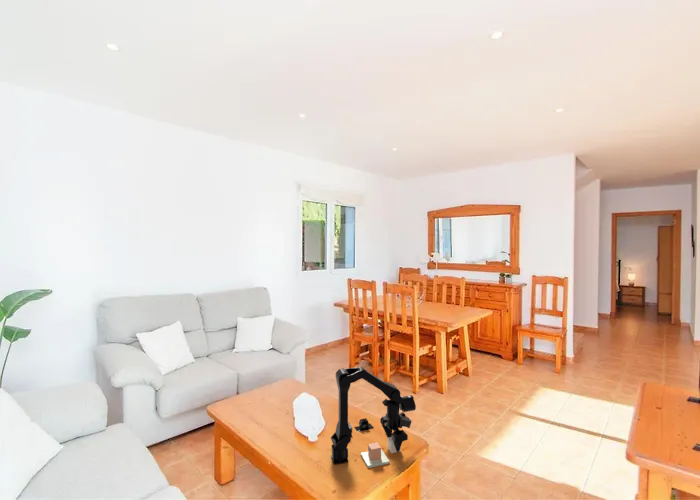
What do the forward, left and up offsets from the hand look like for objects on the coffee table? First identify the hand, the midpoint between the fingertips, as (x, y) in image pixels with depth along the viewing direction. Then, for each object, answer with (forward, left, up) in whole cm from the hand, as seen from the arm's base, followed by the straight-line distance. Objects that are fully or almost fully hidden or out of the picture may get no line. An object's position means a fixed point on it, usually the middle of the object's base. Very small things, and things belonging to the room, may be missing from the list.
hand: (393, 446), depth 170 cm
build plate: (-11, -4, -2) cm, 12 cm away
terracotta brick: (-11, -4, -1) cm, 12 cm away
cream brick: (0, 0, -2) cm, 2 cm away
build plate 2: (-7, +23, -2) cm, 24 cm away
